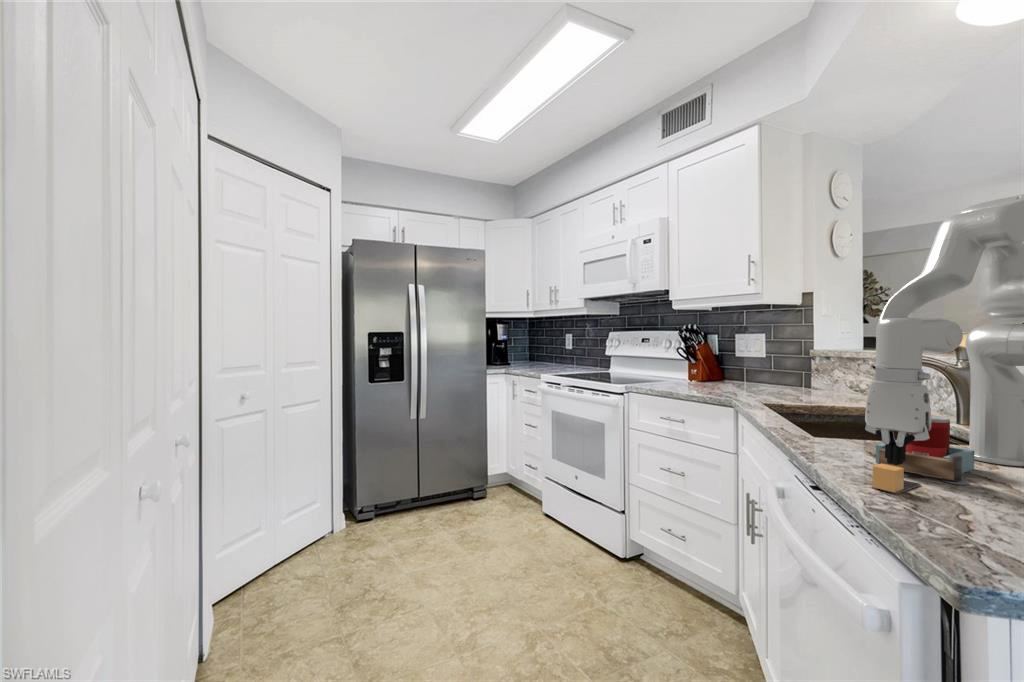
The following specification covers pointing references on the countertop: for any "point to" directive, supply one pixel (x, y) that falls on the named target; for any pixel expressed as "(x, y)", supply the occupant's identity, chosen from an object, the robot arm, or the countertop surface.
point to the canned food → (934, 439)
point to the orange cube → (888, 477)
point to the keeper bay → (964, 453)
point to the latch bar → (929, 465)
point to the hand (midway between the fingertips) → (894, 463)
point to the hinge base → (956, 482)
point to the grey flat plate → (907, 486)
